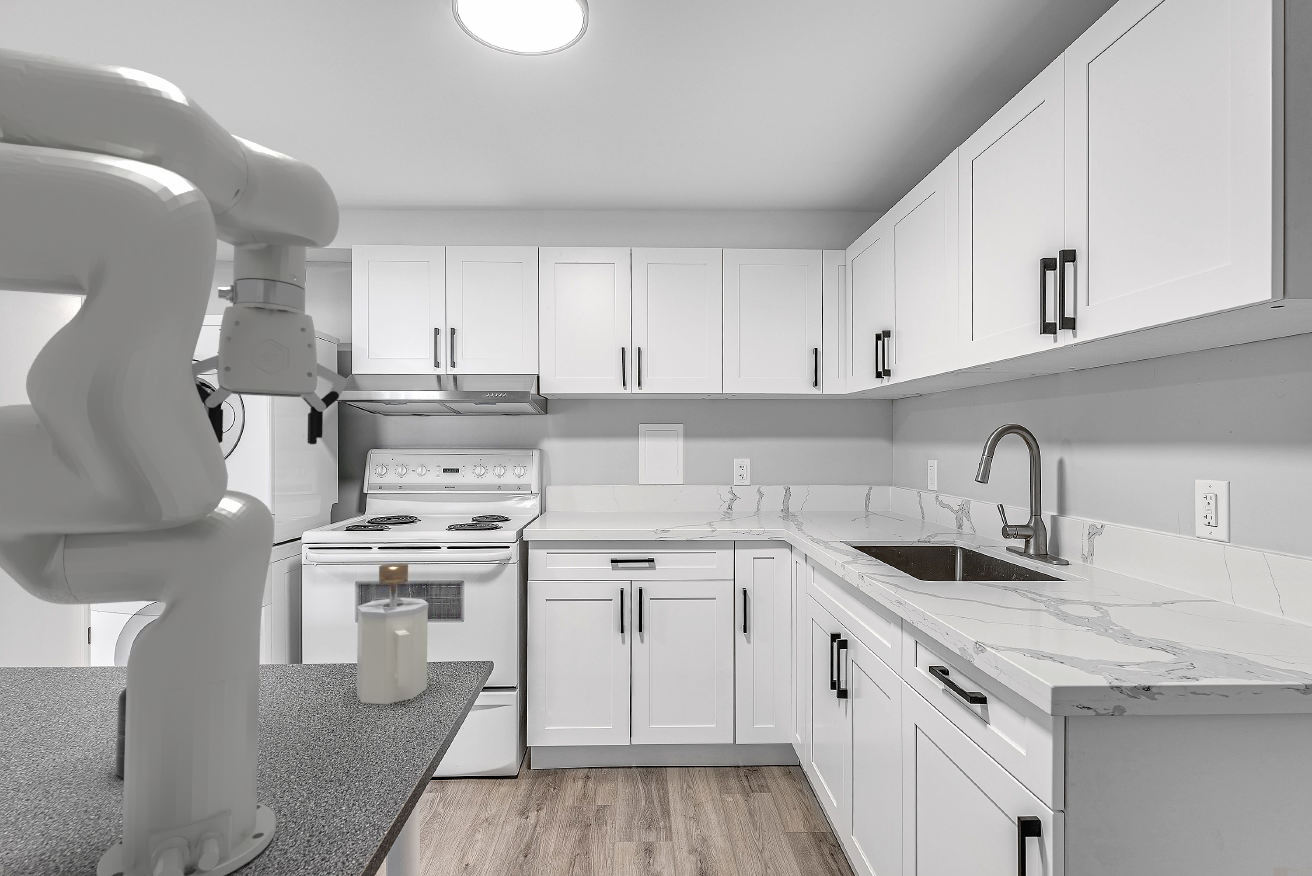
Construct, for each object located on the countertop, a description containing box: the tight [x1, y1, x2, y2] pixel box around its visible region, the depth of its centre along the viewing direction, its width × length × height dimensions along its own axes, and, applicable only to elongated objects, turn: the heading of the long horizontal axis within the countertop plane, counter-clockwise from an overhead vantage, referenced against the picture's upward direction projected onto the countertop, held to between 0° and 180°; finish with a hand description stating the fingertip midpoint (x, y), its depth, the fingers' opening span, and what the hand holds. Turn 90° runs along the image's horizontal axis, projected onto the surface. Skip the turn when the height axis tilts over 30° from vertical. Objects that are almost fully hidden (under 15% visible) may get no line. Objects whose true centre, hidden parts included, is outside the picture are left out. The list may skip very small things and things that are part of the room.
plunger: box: [378, 562, 409, 607], centre depth 95 cm, size 4×4×17 cm
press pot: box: [356, 597, 429, 705], centre depth 93 cm, size 12×9×13 cm
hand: (267, 443), depth 77 cm, fingers open, 9 cm apart
